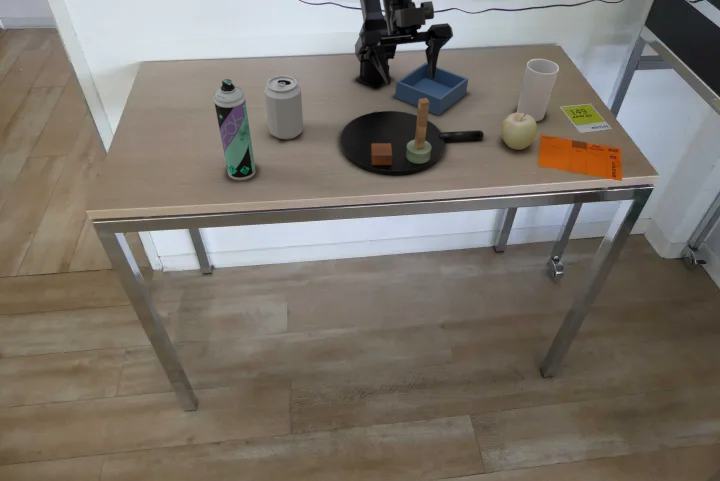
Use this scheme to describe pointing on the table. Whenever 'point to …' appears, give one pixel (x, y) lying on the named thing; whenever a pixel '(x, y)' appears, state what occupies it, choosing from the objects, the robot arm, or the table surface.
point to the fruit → (518, 130)
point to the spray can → (234, 130)
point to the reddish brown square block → (381, 154)
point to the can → (284, 107)
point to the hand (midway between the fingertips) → (411, 81)
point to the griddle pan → (394, 141)
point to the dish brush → (420, 136)
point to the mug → (537, 87)
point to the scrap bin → (431, 88)
